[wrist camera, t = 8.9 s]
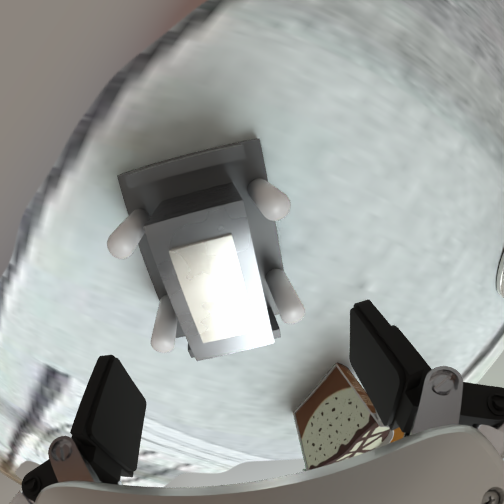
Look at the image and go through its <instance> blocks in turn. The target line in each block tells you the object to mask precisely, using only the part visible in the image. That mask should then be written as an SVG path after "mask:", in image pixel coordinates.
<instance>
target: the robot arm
mask: <svg viewBox="0 0 504 504" xmlns="http://www.w3.org/2000/svg"><path fill="white" fill-rule="evenodd" d="M497 291H498V293H499V294H500V295H501V296H502V297H503V298H504V253H503V255H502V258H501V262H500V265H499V269H498V274H497ZM350 362H351V365H352V367H353V369H354V370H355V372H356V374H357V376H358V378H359V380H360V381H361V383H362V385H363V387H364V389H365V391H366V393H367V395H368V396H369V398H370V400H371V402H372V404H373V406H374V408H375V410H376V412H377V414H378V415H379V417H380V419H381V421H382V423H383V425H384V426H389V428H390V429H391V431H393V430H395V429H397V428H399V427H400V429H401V431H402V432H404V436H403V438H402V439H399V440H397V441H394V442H392V443H389V444H386V445H384V446H381V447H379V448H376V449H374V450H371V451H368V452H366V453H363V454H360V455H357V456H354V457H351V458H348V459H345V460H342V461H339V462H336V463H333V464H329V465H326V466H323V467H319V468H315V469H312V470H308V471H304V472H300V473H296V474H291V475H286V476H282V477H277V478H272V479H266V480H260V481H254V482H247V483H239V484H230V485H220V486H208V487H180V488H165V487H141V486H127V485H123V484H122V482H121V481H120V476H124V477H133V472H134V471H135V470H136V469H137V462H138V455H139V448H140V441H141V435H142V428H143V422H144V416H145V411H146V400H145V398H144V397H143V395H142V394H141V392H140V391H139V390H138V388H137V387H136V385H135V384H134V382H133V381H132V379H131V378H130V376H129V375H128V373H127V372H126V370H125V368H124V367H123V365H122V364H121V362H120V360H119V359H118V358H115V357H114V356H113V355H105V356H100V357H99V358H98V360H97V363H96V365H95V367H94V370H93V372H92V375H91V377H90V380H89V382H88V385H87V387H86V390H85V392H84V395H83V398H82V400H81V403H80V406H79V408H78V411H77V414H76V417H75V420H74V423H73V426H72V429H71V432H70V433H71V434H72V438H70V437H68V436H61V437H58V438H56V439H55V440H54V441H53V442H52V443H51V445H50V447H49V451H48V455H49V460H47V461H46V462H44V463H43V464H41V465H40V466H38V467H37V468H35V469H34V470H32V471H31V472H29V473H28V474H27V475H26V476H25V477H24V479H23V481H22V490H23V492H21V491H19V492H18V493H17V494H16V496H15V497H14V498H13V499H12V501H11V502H10V503H9V504H504V388H501V387H494V386H486V385H479V384H472V383H466V382H463V379H462V377H461V374H460V373H459V372H458V371H457V370H455V369H453V368H451V367H447V366H440V367H436V368H434V369H431V368H430V367H429V365H428V364H427V363H426V362H425V360H424V359H423V358H422V357H421V355H420V354H419V353H418V352H417V350H416V349H415V348H414V347H413V345H412V344H411V343H410V342H409V341H408V339H407V338H406V337H405V336H404V334H403V333H402V332H401V331H400V330H399V328H397V327H396V326H394V325H393V326H391V325H390V324H389V323H388V322H387V320H386V319H385V318H384V317H383V315H382V314H381V313H380V312H379V311H378V310H377V308H376V307H375V306H374V305H373V304H372V302H371V301H370V300H365V301H362V302H359V303H356V304H354V308H352V309H351V310H350Z"/></svg>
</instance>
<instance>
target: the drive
mask: <svg viewBox="0 0 504 504" xmlns="http://www.w3.org/2000/svg"><path fill="white" fill-rule="evenodd" d="M143 228H144V231H145V234H146V237H147V240H148V243H149V246H150V248H151V251H152V254H153V257H154V260H155V262H156V265H157V268H158V270H159V273H160V276H161V278H162V281H163V284H164V286H165V289H166V291H167V294H168V296H169V299H170V301H171V304H172V306H173V309H174V311H175V313H176V316H177V318H178V320H179V323H180V325H181V327H182V330H183V332H184V334H185V336H186V339H187V341H188V343H189V345H190V348H191V350H192V352H193V354H194V356H195V358H196V360H197V361H200V360H205V359H210V358H214V357H219V356H223V355H228V354H232V353H237V352H241V351H245V350H249V349H253V348H257V347H261V346H265V345H269V344H272V343H274V338H273V333H272V329H271V324H270V320H269V315H268V311H267V306H266V302H265V297H264V293H263V288H262V284H261V279H260V274H259V270H258V265H257V261H256V256H255V252H254V247H253V243H252V238H251V234H250V229H249V225H248V220H247V216H246V211H245V207H244V202H243V199H242V198H241V196H240V194H239V192H238V191H237V189H236V187H235V186H234V184H233V182H231V183H227V184H223V185H219V186H215V187H211V188H207V189H203V190H199V191H195V192H192V193H188V194H184V195H181V196H177V197H173V198H170V199H166V200H163V201H161V202H160V204H159V205H158V207H157V208H156V209H155V211H154V212H153V213H152V215H151V216H150V218H149V219H148V220H147V222H146V223H145V225H144V226H143Z"/></svg>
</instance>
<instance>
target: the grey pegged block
mask: <svg viewBox="0 0 504 504" xmlns="http://www.w3.org/2000/svg"><path fill="white" fill-rule="evenodd" d="M117 177H118V180H119V184H120V188H121V191H122V195H123V198H124V201H125V205H126V208H127V211H128V214H129V216H128V217H127V218H126V219H125V220H124V221H123V222H122V223H121V224H120V225H119V226H118V228H117V229H116V230H115V231H114V232H113V233H112V234H111V235H110V236H109V238H108V241H107V247H108V250H109V252H110V253H111V254H112V255H113V256H114V257H116V258H118V259H126V258H128V257H130V256H131V255H132V253H133V251H134V250H135V248H136V246H137V245H139V248H140V250H141V253H142V256H143V259H144V262H145V264H146V267H147V270H148V272H149V275H150V277H151V280H152V283H153V285H154V288H155V290H156V293H157V295H158V298H159V300H160V303H159V307H158V311H157V315H156V320H155V324H154V328H153V333H152V338H151V346H152V347H153V349H154V350H156V351H158V352H161V353H168V352H171V351H172V350H173V349H174V347H175V338H178V337H183V336H185V334H184V332H183V330H182V327H181V325H180V323H179V320H178V318H177V316H176V313H175V311H174V309H173V306H172V304H171V301H170V299H169V296H168V294H167V291H166V289H165V286H164V284H163V281H162V278H161V276H160V273H159V270H158V268H157V265H156V262H155V260H154V257H153V254H152V251H151V248H150V246H149V243H148V240H147V237H146V234H145V231H144V228H143V226H144V225H145V223H146V222H147V220H148V219H149V218H150V216H151V215H152V213H153V212H154V211H155V209H156V208H157V207H158V205H159V204H160V202H161V201H163V200H166V199H170V198H173V197H177V196H181V195H184V194H188V193H192V192H195V191H199V190H203V189H207V188H211V187H215V186H219V185H223V184H227V183H231V182H233V184H234V186H235V187H236V189H237V191H238V192H239V194H240V196H241V198H242V199H243V202H244V207H245V211H246V216H247V220H248V225H249V229H250V234H251V238H252V243H253V247H254V252H255V256H256V261H257V265H258V270H259V274H260V279H261V284H262V288H263V293H264V297H265V302H266V306H267V311H268V315H269V320H270V324H271V329H272V333H273V338H274V339H275V338H279V337H281V334H280V329H279V326H278V324H277V321H276V318H275V316H274V315H278V314H280V316H281V319H282V321H283V322H285V323H287V324H295V323H297V322H299V321H301V320H302V319H303V317H304V315H305V308H304V306H303V304H302V303H301V301H300V299H299V297H298V295H297V294H296V292H295V290H294V288H293V286H292V285H291V283H290V281H289V279H288V278H287V276H286V274H285V272H284V270H283V264H282V258H281V252H280V246H279V240H278V234H277V229H276V223H275V221H279V220H281V219H283V218H285V217H286V216H287V215H288V213H289V211H290V207H291V204H290V200H289V198H288V196H287V195H286V194H284V193H283V192H281V191H280V190H279V189H277V188H276V187H275V186H273V185H272V184H270V183H269V182H268V179H267V174H266V169H265V164H264V159H263V153H262V148H261V143H260V138H259V139H253V140H247V141H242V142H238V143H233V144H228V145H224V146H219V147H215V148H211V149H206V150H202V151H198V152H194V153H190V154H187V155H183V156H179V157H175V158H172V159H168V160H165V161H161V162H158V163H154V164H151V165H148V166H145V167H141V168H138V169H135V170H132V171H129V172H126V173H123V174H120V175H118V176H117ZM188 352H189V354H190V356H191V358H192V357H195V356H194V354H193V352H192V350H191V348H190V345H189V343H188Z"/></svg>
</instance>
